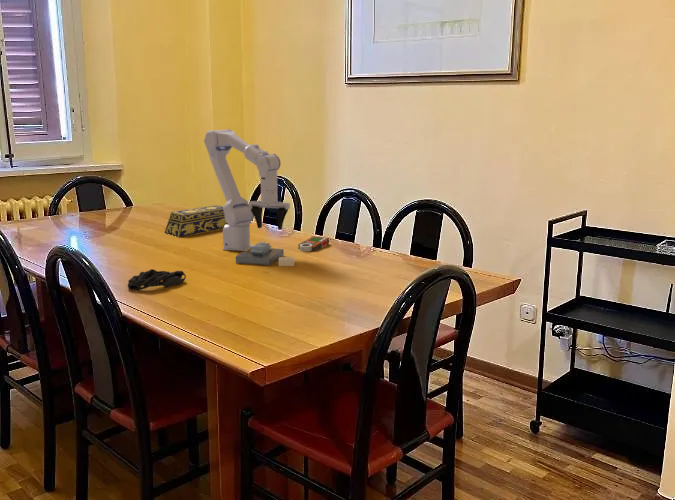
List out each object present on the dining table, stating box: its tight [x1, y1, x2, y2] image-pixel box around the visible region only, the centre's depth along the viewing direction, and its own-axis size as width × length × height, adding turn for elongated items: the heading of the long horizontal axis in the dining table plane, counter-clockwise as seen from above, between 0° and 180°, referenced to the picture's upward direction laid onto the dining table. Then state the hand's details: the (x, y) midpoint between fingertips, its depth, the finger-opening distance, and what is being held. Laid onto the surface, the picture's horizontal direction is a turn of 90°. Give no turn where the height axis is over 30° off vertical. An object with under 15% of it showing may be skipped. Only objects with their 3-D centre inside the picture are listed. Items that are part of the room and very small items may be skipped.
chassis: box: [235, 247, 285, 266], centre depth 228 cm, size 12×14×3 cm
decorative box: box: [163, 204, 228, 238], centre depth 275 cm, size 11×30×9 cm, turn 137°
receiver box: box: [278, 256, 295, 267], centre depth 221 cm, size 5×4×2 cm
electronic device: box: [298, 235, 330, 253], centre depth 245 cm, size 7×3×15 cm
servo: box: [251, 240, 272, 255], centre depth 228 cm, size 4×9×6 cm, turn 165°
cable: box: [127, 268, 187, 291], centre depth 199 cm, size 17×14×4 cm
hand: (269, 228), depth 232 cm, fingers open, 7 cm apart
